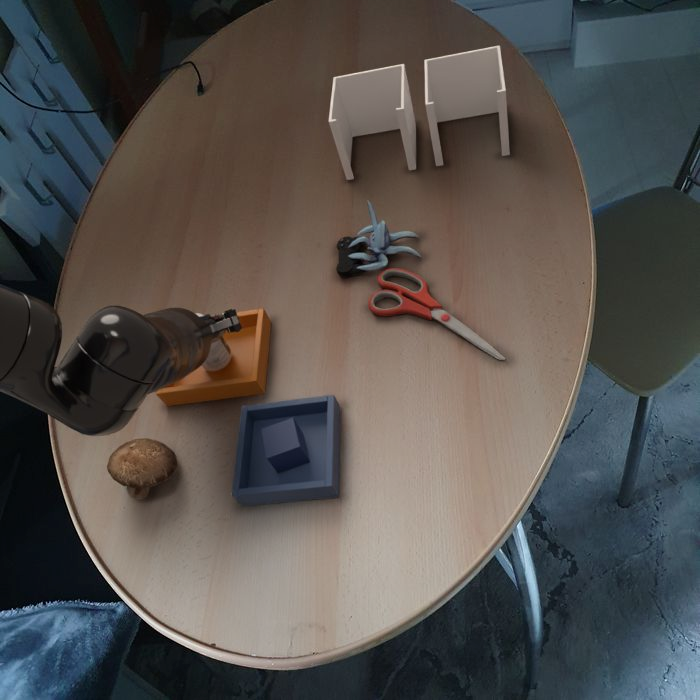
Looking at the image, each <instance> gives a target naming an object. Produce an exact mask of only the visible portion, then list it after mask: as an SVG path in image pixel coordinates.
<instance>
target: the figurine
mask: <svg viewBox="0 0 700 700" xmlns="http://www.w3.org/2000/svg"><path fill="white" fill-rule="evenodd" d="M366 203H367V207H368V208H367V209H368V213H369V216H370V221H371V224H370V225H368V226H365V227H364V228H362V229H361V230H360V231H358V232H357V233H356V236H354V237H352V236H343V237H341V238H340V239H339V240H338V241H337V242H336V243H337V244H336V248H337V250H338V263H337V265H336V268H335V269H336V272H337V274H338V275H339V276H340V278H343V279H346V278H351V277H352V276H353V275H361V274H364V273H365V272H367V271H369V272H371V271H378V270H384V269H386V268H387V267H388V265H389V260H388V256H395V255H398V254H400V253H406V254H410V255H412V256H414V257H417V258H420V259H421V258H422V256H421V254H419V253H418V252H417V251H416V249H414V248H412V247H409V246H408V245H407V246H405V245H395V246H394V245H391V243H394V242H396V241H398V240H401V239H405V238H406V239H416V238H420V236H419V235H418V234H416V233H414V231H410V230H403V231H397V232H393V233H392V232H390V231H389V227H388V225H387V224H386V221H385V220H381V221H379V222H378V218H377V215H376V212H375V209H374V207H373V204H372V203H371V201H369V199H367V200H366ZM369 233H370V236H369V237H367V236H365V235H366V234H369ZM362 235H364V236H362ZM364 243H365V244H366V246H367V250H368V251H369V253H370V254H372V255H370V254H368V253H365V252H363V250H362V247H361V245H363V244H364ZM363 261H365V262H367V263H368V264H365V265H363Z"/></svg>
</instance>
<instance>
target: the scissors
mask: <svg viewBox="0 0 700 700" xmlns="http://www.w3.org/2000/svg"><path fill="white" fill-rule="evenodd" d="M392 276H394V277H395V276H397V277H402V278H405V279H409V280H411V281H412V282H414V283H416V284H418V285H419V286H420V288H419V290H417V291H413V290H411V289H409V288H407V287H405V286H403V285H401V284H398V283H395V282H392V281H387V280H386V279H388V278H389V277H392ZM377 283H378V285H379V286H380V287H381V288H382V289H380V290H377V291H376V292H374V293H373V294H372V295H371V296H370V298H369V299H368V309H369V311H370V312H371V313H372V314H374V315H375V316H379V317H392V316H397V315H401V314H411V315H414V316H417V317H420V318H423V319H426V320H428V321H433V320H435V321H436V322H438V323H439V324H441V325H442V326H444V327H446V328H447V329H448V330H450V331H451V332H453V333H455V334H456V335H458V336H459V337H461V338H462V339H464V340H465V341H467V342H469V343H470V344H472V345H473V346H475V347H476V348H479V350H481V351H483V352H484V353H486V354H488V355H489V356H491V357H493V358H494V359H495V360H498V361H506V357H505V356H503V355H502V354H501V353H500V352H499V351H498V350H496V349H495V347H493V346H492V345H491V344H489V342H487V341H486V340H485V339H484V338H482V337H481V336H480V335H478V334H477V333H476V332H474V331H473V330H472V329H471V328H469V327H468V326H467V325H465V324H464V323H462V322H461V321H460V320H459V319H458V318H456V317H455V316H453V315H452V314H451V313H449V312H448V311H446V310H444V309H443V305H441V304H440V303H439V302H438V301H436V300H435V299H434V298H433V297H432V296H431V295H430V292H429V286H428V283H427V282H426V280H425V279H424V278H422V276H420V275H417V274H416V273H414V272H411V271H409V270H406V269H401V268H397V267H396V268H395V267H391V268H387V269H383V271H381V272H380V273H379V275H378V277H377ZM383 298H390V299H394V300H396V301H398V302H399V305H396V306H393V307H390V308H380V307H377V306H376V303H377V302H378V301H379V300H380V299H383Z"/></svg>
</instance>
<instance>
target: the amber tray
mask: <svg viewBox="0 0 700 700" xmlns="http://www.w3.org/2000/svg"><path fill="white" fill-rule="evenodd" d="M236 313H237V315H238V318H239V321H240V323H241V326H242V329H241V330H240V331H239V332H236V331H235V332H231V333H228V332H227V329H226V331H225V332H226V333H224V334H223V335H222V337H223V338H224V340H225V341H226V343H227V344H228V346H229V347H230V349H231V351H232V357H231V360H230V362H229V363H228V364H227V365H226V366H225V367H224V368H223V369H221V370H218V371H213V372H212V371H207V370H205V369H204V368H203V367H202V366H200V367H199V368H198V369H196V370H195V371H193V372H192V373H190V374H189V375H187V376H186V377H184V378H183V379H181V380H179V381H177V382H175V383H172V384H169V385H168V386H166V387H165V388H163V389H161V390H159V391H157V392H155V395H156V397H158V398H159V399H160V400H161V401H162V403H163V404H164V405H165V406H166V407H170V406H178V405H186V404H193V403H202V402H211V401H217V400H218V401H219V400H224V399H233V398H240V397H241V398H242V397H248V396H256V395H264V394H266V393H265V392H266V384H267V383H266V382H267V371H268V363H269V362H268V361H269V351H270V341H271V330H272V321H271V319H270V317H269V315H268V313H267V311H266V309H265V308H264V307H263V308H256V309H255V308H254V309H249V310H243V311H236ZM212 316H213V315H211V317H212Z"/></svg>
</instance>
